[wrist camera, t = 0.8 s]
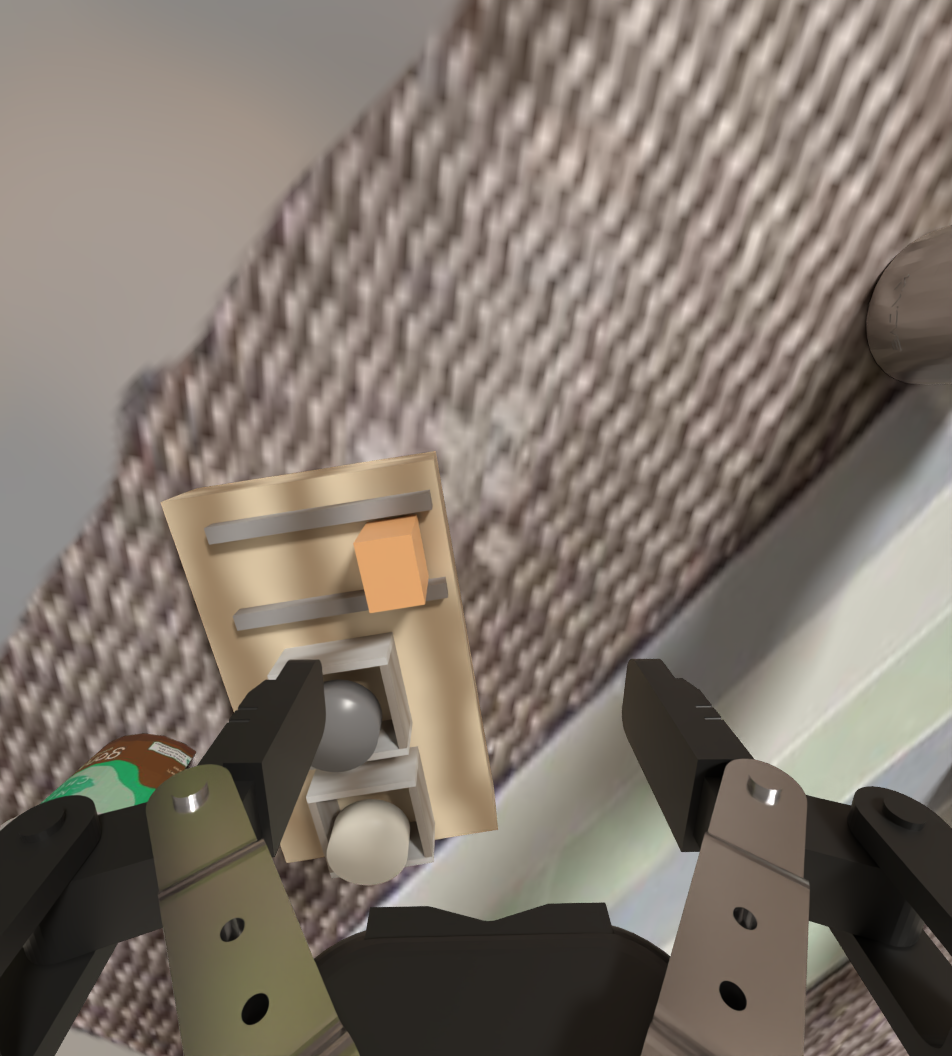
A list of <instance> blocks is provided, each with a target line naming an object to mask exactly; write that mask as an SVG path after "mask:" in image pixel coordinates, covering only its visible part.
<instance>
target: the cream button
mask: <svg viewBox="0 0 952 1056" xmlns="http://www.w3.org/2000/svg"><path fill="white" fill-rule="evenodd" d="M409 837H410V823H409V820H408V818H407V816H406V815H405V814H404V812H403V811H402V810H401V809H400V808H398V807H397V806H395V805H394V804H392V803H389V802H386V801H383V800H377V799H366V800H360V801H357V802H354V803H352V804H350V805H348V806H346V807H345V808H344V809H343V810H342V811H341V812H340V813H339V814H338V816H337V817H336V819H335V822H334V826H333V829H332V833H331V837H330V840H329V844H328V848H327V861H328V863H329V866H330V867H331V869H332V870H333V871H334V873H336V874H337V875H338V876H339V877H341V878H342V879H344V880H346V881H348V882H351V883H354V884H359V885H376V884H381V883H384V882H387V881H389V880H391V879H393V878H394V877H396V876H397V875H398V874H399V873H400V872H401V871H402V870H403V868H404V866H405V865H406V862H407V857H408V848H409Z"/></svg>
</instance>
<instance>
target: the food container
mask: <svg viewBox="0 0 952 1056" xmlns="http://www.w3.org/2000/svg"><path fill="white" fill-rule="evenodd" d="M195 753H196V751H195V750H193V749H192V748H190V747H189V746H187V745H186V744H184V743H182V742H179V741H177V740H174V739H171V738H169V737H166V736H161V735H154V734H146V733H142V734H135V735H127V736H123V737H121V738H118V739H116V740H114V741H111V742H110V743H109V744H107V745H106V746H105V747H103V748H102V749H101V750H100V751H99V752H98V753H97V754H96V755H94V756H93V757H92V758H91V759H90V760H89V761H88V762H87V763H85V764H84V765H83V766H82V767H81V768H80V769H79V770H78V771H77V772H75V773H74V774H73V775H72V776H71V777H70V778H69V779H68V780H66V781H65V782H64V783H63V784H62V785H61V786H60V787H59V788H57V789H56V790H55V791H54V792H53V793H52V794H51V795H50V796H48V797H47V798H46V799H45V800H44V801H43V802H42V803H44V802H46V801H49V800H52V799H55V798H59V797H63V796H69V795H82V796H86V797H89V798H90V799H92V800H93V802H94V804H95V807H96V810H97V814H98V815H99V814H103V813H106V812H110V811H114V810H118V809H122V808H126V807H130V806H134V805H138V804H141V803H145V802H148V800H149V798H150V796H151V795H152V793H153V792H154V791H155V790H156V789H157V788H158V786H160V785H161V784H162V783H163V782H164V781H166V780H167V779H169V778H170V777H172V776H173V775H175V774H177V773H179V772H181V771H183V770H185V768H186V767H187V765H188V764H189V762H190V761H191V759H192V758H193V756H194V755H195ZM17 817H18V816H17ZM15 818H16V817H15ZM15 818H13V819H15ZM13 819H11V820H9V821H7V822H5V823H4V824H2V825H1V826H0V831H1V830H2V829H3V828H4V827H5V826H6V825H7V824H8V823H10V822H11V821H12V820H13Z"/></svg>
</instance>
